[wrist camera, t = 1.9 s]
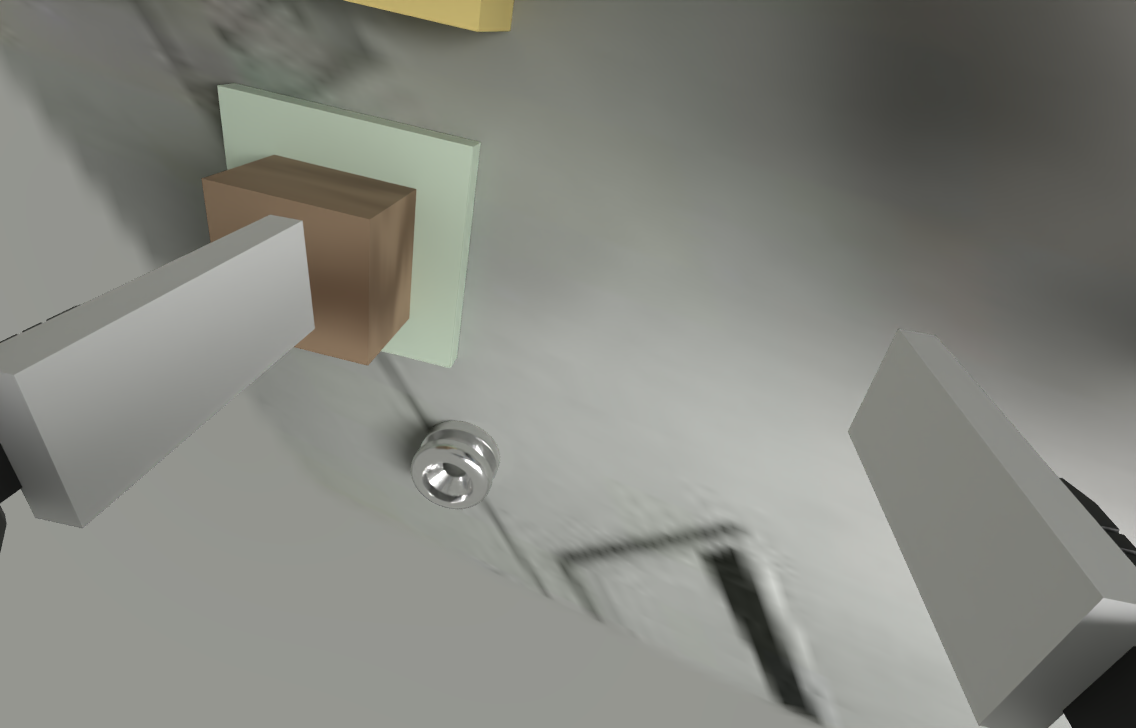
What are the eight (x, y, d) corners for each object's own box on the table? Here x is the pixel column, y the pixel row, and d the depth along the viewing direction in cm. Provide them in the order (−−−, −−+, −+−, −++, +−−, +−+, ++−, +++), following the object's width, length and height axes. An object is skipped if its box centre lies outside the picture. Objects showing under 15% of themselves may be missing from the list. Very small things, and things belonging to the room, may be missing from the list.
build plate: (234, 83, 27) (217, 85, 26) (480, 142, 27) (473, 146, 26) (257, 307, 33) (244, 316, 32) (456, 357, 33) (450, 368, 32)
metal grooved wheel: (414, 422, 36) (437, 482, 38) (396, 452, 33) (421, 515, 36) (489, 417, 35) (508, 480, 37) (476, 448, 32) (497, 513, 35)
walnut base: (274, 154, 27) (201, 178, 23) (416, 189, 27) (369, 219, 23) (284, 287, 31) (222, 329, 27) (409, 318, 31) (367, 365, 26)
